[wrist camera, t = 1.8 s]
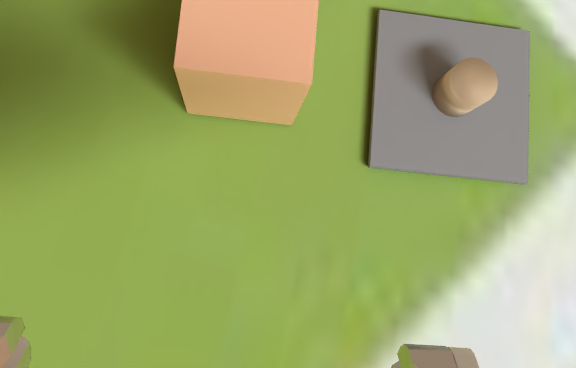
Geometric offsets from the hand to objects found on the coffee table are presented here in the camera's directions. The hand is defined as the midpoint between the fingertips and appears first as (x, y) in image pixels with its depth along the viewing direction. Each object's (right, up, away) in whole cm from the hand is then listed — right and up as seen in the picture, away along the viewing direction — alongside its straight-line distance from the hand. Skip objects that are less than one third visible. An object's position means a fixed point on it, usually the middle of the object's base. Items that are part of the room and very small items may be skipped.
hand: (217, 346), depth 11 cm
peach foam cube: (-1, +11, +22) cm, 24 cm away
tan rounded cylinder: (+13, +10, +23) cm, 28 cm away
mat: (+13, +9, +23) cm, 28 cm away
